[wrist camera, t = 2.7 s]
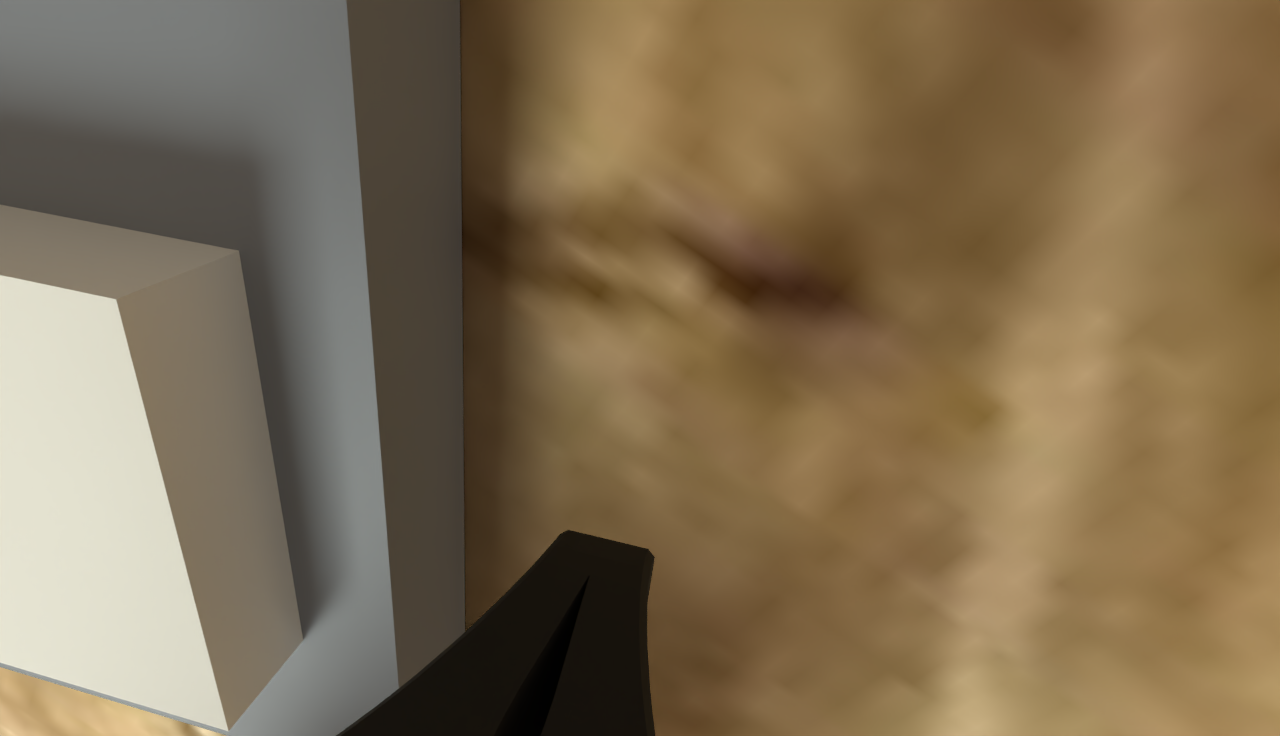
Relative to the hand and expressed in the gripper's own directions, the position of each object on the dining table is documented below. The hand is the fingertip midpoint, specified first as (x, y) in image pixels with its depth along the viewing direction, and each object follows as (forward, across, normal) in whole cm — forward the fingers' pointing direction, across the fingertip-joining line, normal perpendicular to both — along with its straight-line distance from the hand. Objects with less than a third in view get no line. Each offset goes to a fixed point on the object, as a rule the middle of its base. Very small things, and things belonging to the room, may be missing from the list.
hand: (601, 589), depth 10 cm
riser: (+4, +10, 0) cm, 11 cm away
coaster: (+1, +10, 0) cm, 10 cm away
